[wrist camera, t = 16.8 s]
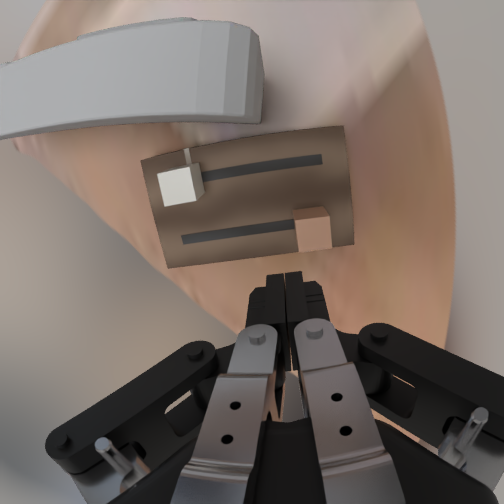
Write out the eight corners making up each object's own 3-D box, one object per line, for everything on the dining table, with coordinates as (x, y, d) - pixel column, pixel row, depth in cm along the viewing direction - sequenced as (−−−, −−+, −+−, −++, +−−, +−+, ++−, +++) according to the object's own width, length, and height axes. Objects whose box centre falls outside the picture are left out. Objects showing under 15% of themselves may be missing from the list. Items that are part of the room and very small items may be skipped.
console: (154, 155, 32) (139, 159, 28) (334, 125, 30) (343, 124, 26) (178, 255, 37) (167, 269, 33) (346, 232, 34) (354, 245, 30)
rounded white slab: (266, 57, 27) (259, -17, 11) (261, 124, 30) (249, 116, 14) (47, 78, 28) (-58, 76, 12) (44, 133, 31) (-61, 154, 15)
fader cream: (169, 168, 28) (157, 173, 25) (198, 162, 28) (189, 166, 25) (176, 197, 29) (164, 206, 26) (204, 192, 29) (196, 200, 26)
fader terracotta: (292, 210, 29) (295, 220, 26) (323, 206, 29) (329, 215, 26) (296, 239, 30) (299, 252, 27) (326, 235, 30) (332, 248, 27)
